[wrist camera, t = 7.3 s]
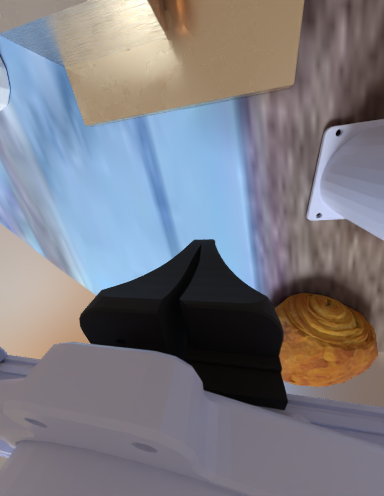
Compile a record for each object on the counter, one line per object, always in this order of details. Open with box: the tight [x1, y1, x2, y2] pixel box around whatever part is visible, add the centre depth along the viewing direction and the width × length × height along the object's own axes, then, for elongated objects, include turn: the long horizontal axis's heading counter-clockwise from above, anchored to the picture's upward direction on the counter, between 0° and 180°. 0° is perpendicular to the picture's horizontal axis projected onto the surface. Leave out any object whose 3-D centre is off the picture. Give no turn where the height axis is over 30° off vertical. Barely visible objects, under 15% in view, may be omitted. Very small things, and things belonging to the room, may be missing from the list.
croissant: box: [275, 293, 378, 387], centre depth 24 cm, size 14×16×8 cm
